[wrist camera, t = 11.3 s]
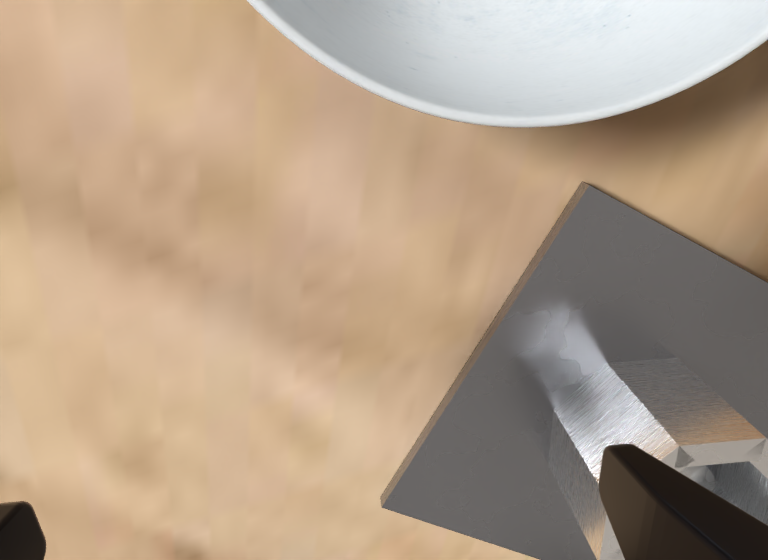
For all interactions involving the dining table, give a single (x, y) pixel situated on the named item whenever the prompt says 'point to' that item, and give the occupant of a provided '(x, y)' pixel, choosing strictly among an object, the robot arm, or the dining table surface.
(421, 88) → the chinaware
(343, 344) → the dining table surface
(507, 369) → the duct stub
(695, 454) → the collar
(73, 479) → the dining table surface
